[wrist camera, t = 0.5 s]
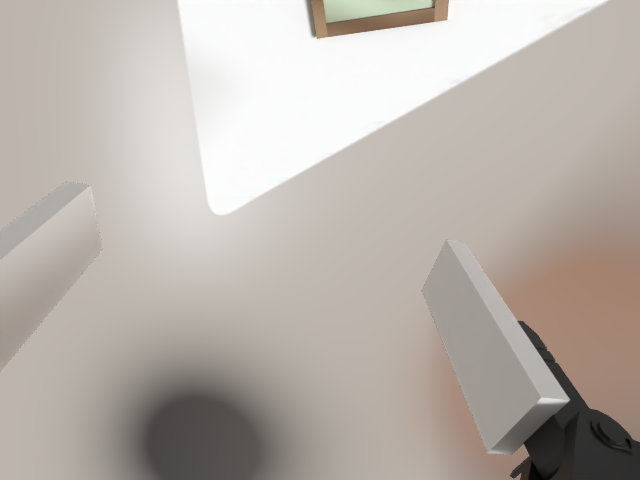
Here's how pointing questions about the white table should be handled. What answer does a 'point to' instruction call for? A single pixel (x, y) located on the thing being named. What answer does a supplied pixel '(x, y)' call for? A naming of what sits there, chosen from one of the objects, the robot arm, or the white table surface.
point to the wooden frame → (373, 15)
